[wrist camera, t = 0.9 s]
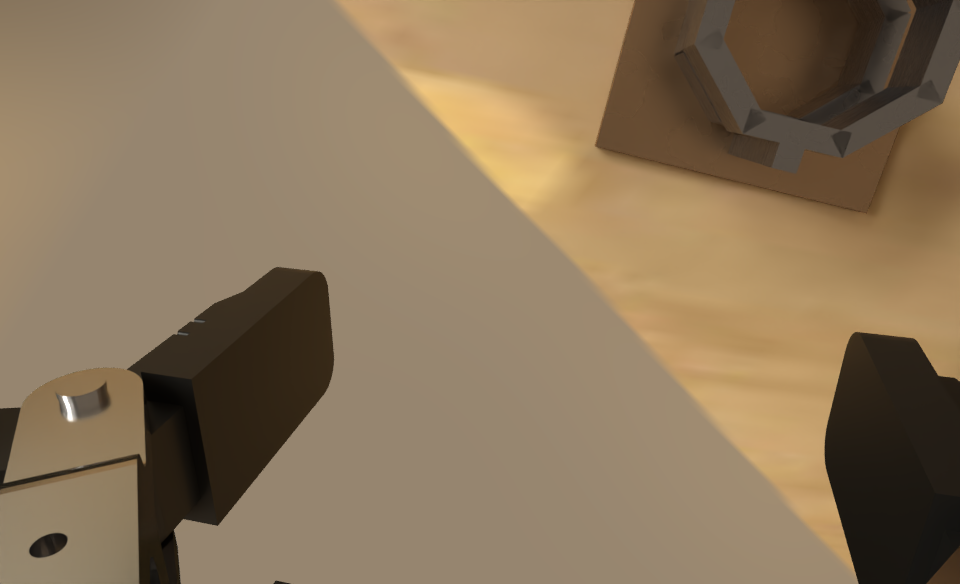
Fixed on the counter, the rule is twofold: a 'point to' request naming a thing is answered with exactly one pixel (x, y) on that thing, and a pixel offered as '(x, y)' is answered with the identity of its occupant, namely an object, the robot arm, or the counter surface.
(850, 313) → the counter surface
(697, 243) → the counter surface
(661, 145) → the collar stand
